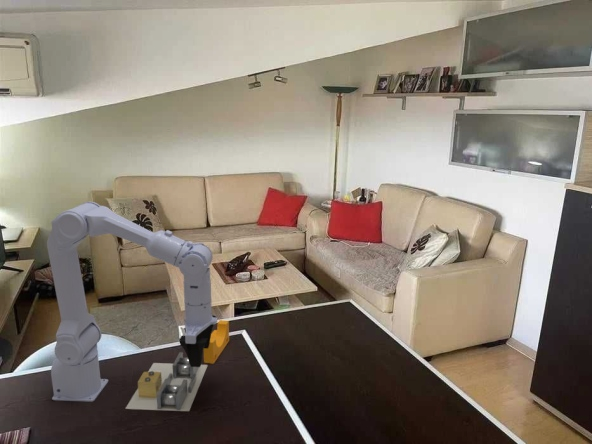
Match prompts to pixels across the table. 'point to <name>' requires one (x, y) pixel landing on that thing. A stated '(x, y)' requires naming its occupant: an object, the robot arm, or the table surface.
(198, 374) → the mat
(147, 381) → the tan knob cube
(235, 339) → the table surface
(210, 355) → the pipe clamp
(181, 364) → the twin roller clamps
